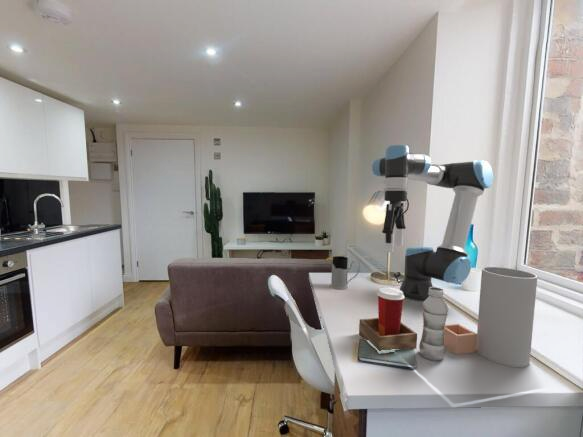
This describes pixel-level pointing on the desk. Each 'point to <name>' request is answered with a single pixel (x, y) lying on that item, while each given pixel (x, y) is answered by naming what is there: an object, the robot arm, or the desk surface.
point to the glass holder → (340, 273)
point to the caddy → (400, 341)
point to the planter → (459, 339)
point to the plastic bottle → (433, 325)
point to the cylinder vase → (506, 315)
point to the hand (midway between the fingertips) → (394, 249)
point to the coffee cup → (389, 310)
